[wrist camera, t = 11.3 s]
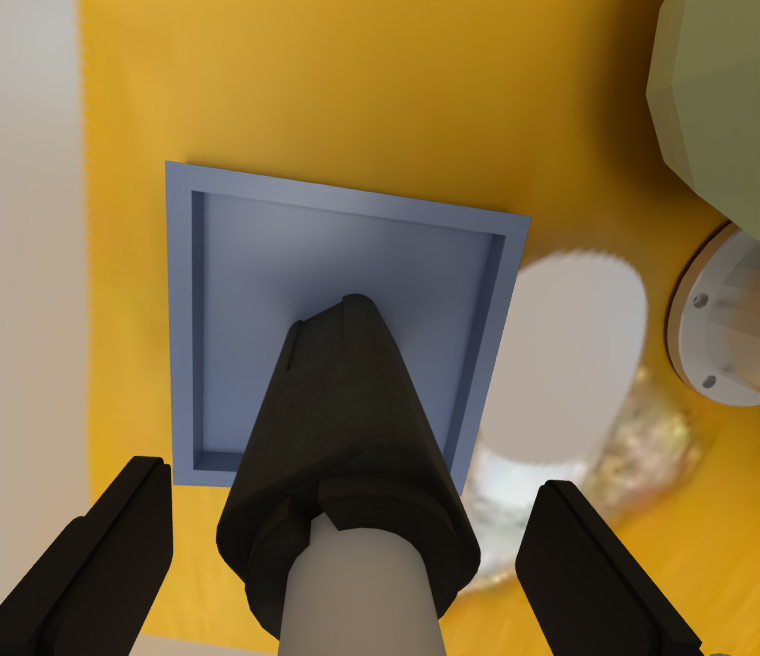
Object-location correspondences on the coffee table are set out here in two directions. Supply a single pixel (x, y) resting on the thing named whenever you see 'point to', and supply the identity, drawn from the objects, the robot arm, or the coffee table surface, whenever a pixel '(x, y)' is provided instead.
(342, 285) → the slate blue tray
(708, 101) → the decorative sphere
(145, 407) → the coffee table surface
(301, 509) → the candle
